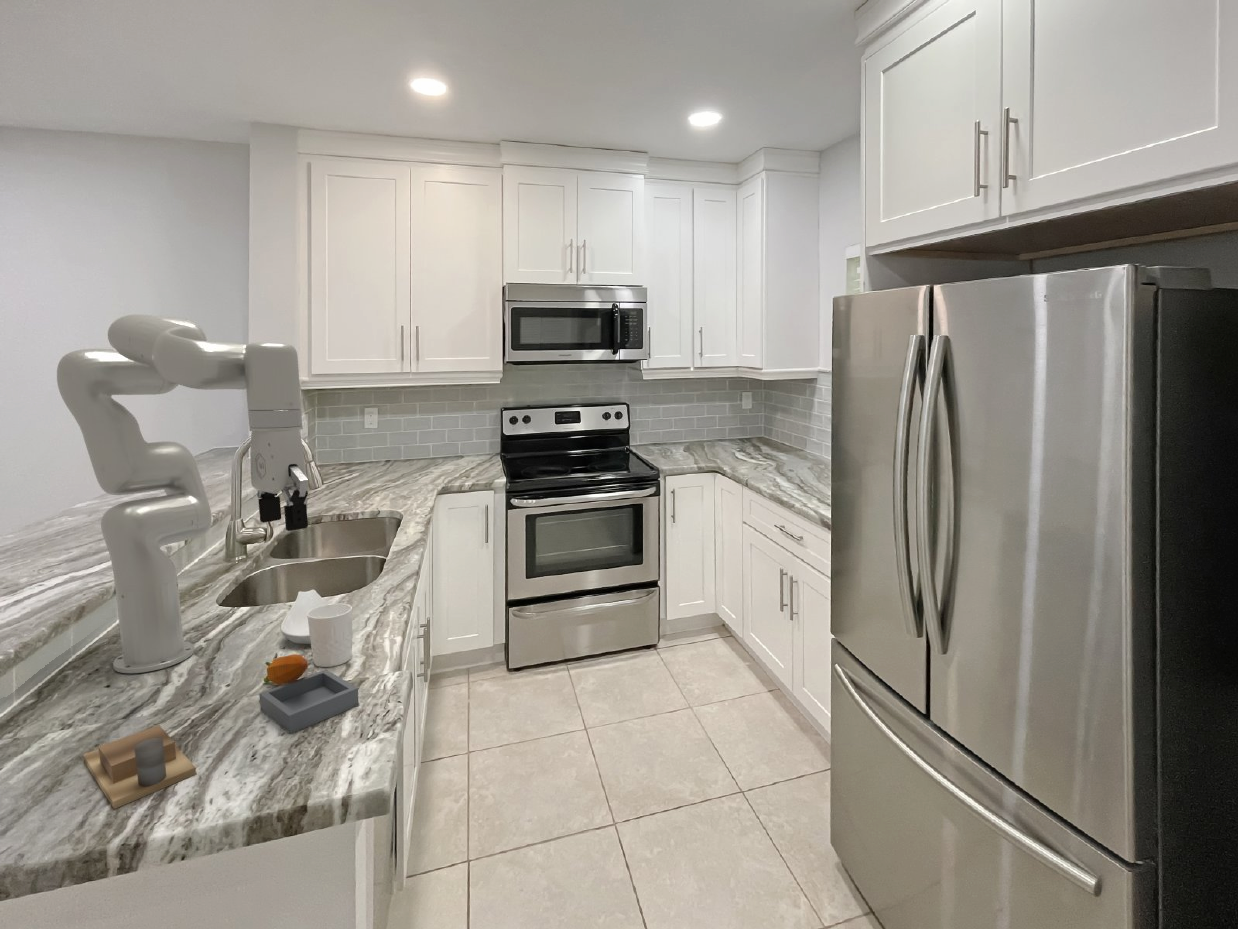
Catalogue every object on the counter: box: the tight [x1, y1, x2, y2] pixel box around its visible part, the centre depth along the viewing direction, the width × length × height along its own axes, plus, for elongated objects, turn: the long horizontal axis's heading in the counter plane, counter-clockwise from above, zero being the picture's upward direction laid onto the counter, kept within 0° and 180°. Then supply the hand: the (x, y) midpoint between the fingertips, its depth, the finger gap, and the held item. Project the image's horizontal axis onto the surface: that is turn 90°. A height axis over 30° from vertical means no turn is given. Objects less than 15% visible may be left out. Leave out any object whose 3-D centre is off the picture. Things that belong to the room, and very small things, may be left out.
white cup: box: [307, 603, 353, 668], centre depth 119 cm, size 8×8×10 cm
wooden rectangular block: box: [97, 724, 176, 784], centre depth 86 cm, size 7×7×2 cm
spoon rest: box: [280, 589, 330, 645], centre depth 135 cm, size 24×12×7 cm, turn 32°
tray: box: [258, 668, 360, 735], centre depth 102 cm, size 11×11×3 cm
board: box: [82, 738, 197, 810], centre depth 86 cm, size 16×9×6 cm, turn 51°
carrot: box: [262, 654, 309, 686], centre depth 107 cm, size 5×5×15 cm
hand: (283, 525), depth 101 cm, fingers open, 9 cm apart
